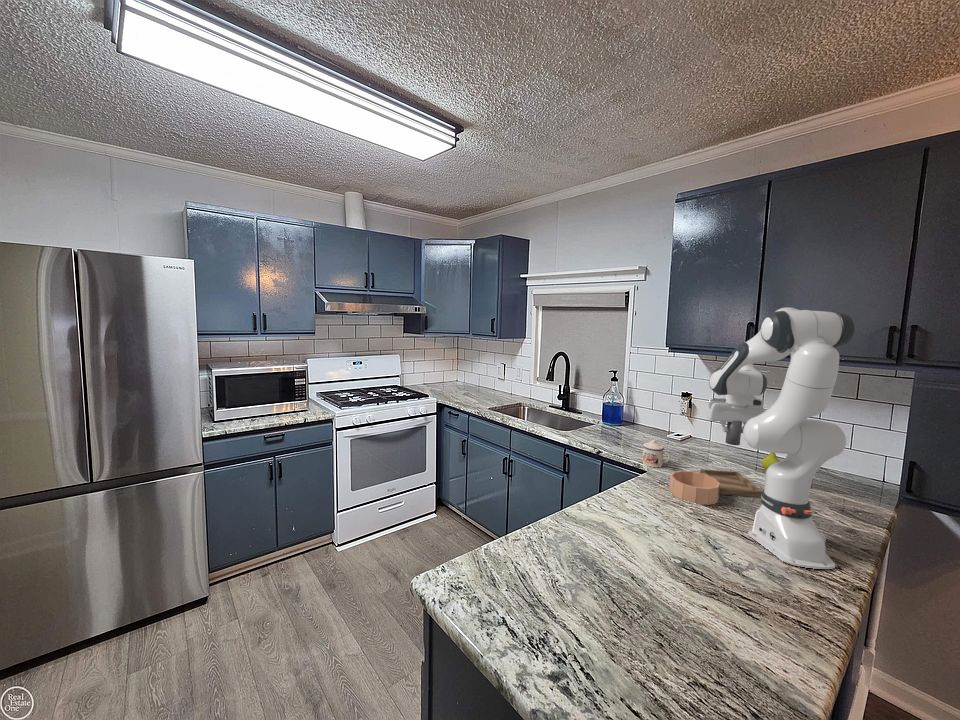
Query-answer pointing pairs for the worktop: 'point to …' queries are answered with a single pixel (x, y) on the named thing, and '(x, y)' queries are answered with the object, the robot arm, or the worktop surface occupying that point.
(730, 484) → the walnut tray
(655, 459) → the teacup with lid
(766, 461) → the fruit
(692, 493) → the terracotta bowl
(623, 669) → the worktop surface
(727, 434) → the black canister
